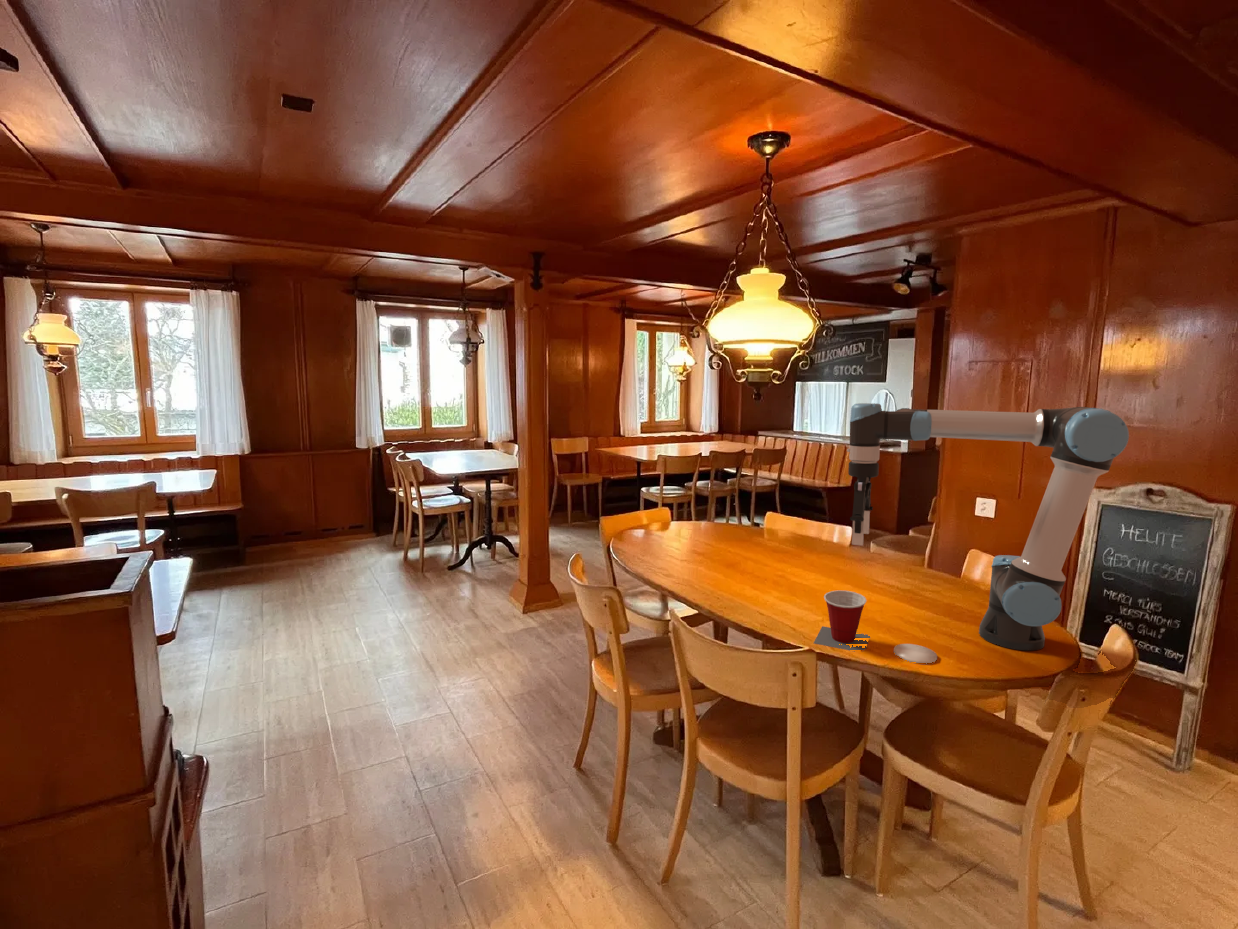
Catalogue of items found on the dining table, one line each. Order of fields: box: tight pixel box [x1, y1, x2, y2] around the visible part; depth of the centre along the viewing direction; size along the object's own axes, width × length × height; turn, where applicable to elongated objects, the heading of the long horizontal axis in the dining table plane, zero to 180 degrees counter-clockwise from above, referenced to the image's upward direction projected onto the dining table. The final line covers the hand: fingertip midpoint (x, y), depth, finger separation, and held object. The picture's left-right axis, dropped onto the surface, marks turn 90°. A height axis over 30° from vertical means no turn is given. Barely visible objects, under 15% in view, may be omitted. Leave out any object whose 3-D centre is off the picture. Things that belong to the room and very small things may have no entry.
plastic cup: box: [823, 589, 867, 643], centre depth 168 cm, size 11×11×12 cm
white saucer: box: [893, 643, 938, 665], centre depth 159 cm, size 10×10×1 cm
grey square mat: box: [813, 625, 871, 651], centre depth 169 cm, size 13×13×1 cm
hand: (860, 539), depth 168 cm, fingers open, 13 cm apart
